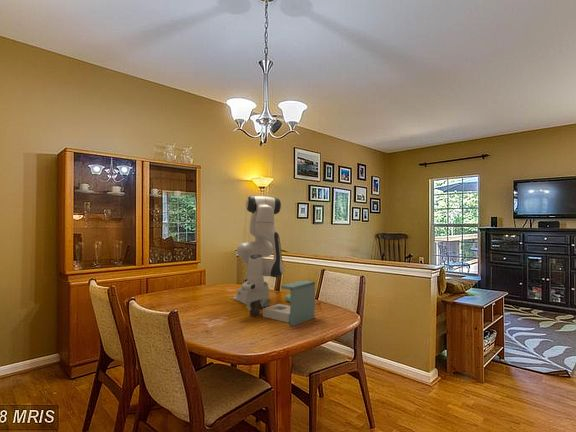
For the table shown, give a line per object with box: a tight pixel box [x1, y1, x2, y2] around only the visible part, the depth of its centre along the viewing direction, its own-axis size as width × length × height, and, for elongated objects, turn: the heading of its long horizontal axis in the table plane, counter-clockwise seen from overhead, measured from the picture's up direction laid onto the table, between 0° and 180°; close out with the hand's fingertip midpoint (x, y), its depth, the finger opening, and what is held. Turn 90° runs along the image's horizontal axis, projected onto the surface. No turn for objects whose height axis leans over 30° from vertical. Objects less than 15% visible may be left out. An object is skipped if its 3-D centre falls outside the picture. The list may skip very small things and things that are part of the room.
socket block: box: [262, 303, 290, 324], centre depth 190 cm, size 18×14×4 cm
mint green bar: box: [285, 293, 290, 303], centre depth 218 cm, size 6×6×25 cm
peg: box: [249, 300, 261, 318], centre depth 192 cm, size 4×4×9 cm
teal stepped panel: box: [280, 280, 316, 327], centre depth 184 cm, size 8×20×20 cm, turn 143°
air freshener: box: [260, 297, 271, 309], centre depth 212 cm, size 11×8×10 cm
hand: (255, 308), depth 192 cm, fingers open, 8 cm apart
